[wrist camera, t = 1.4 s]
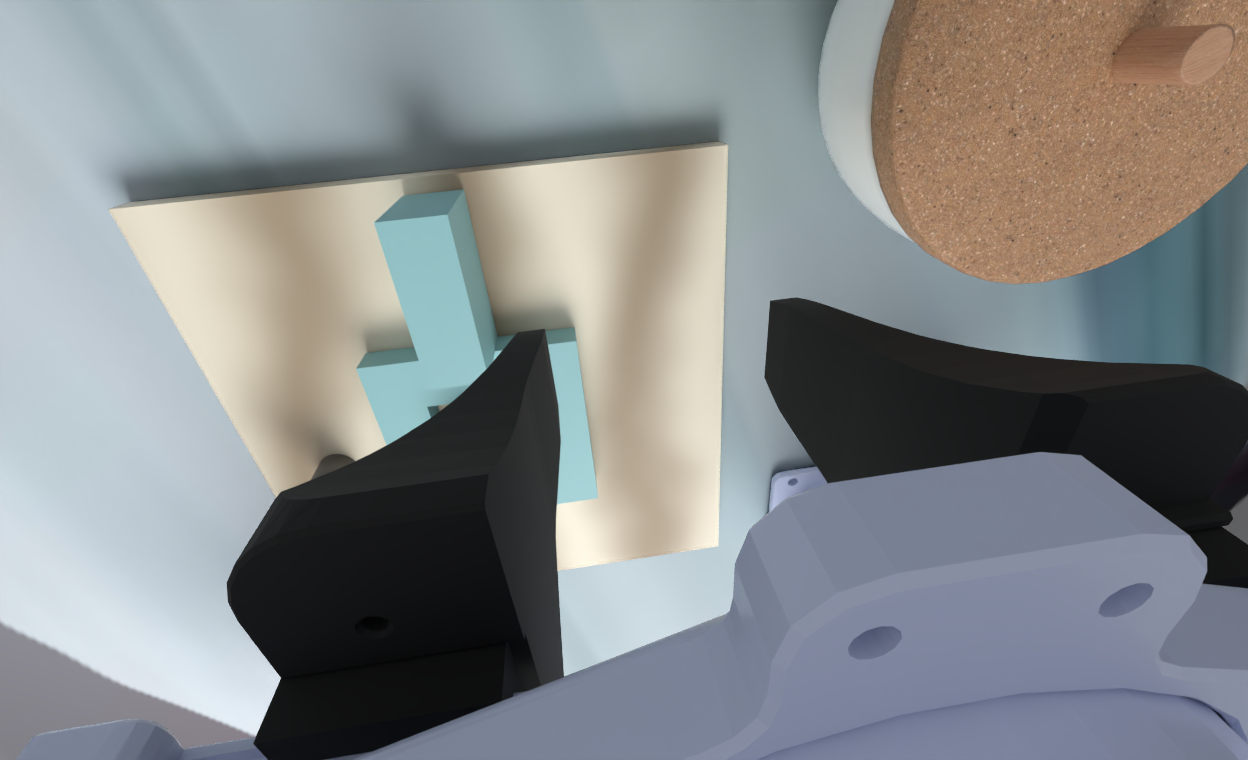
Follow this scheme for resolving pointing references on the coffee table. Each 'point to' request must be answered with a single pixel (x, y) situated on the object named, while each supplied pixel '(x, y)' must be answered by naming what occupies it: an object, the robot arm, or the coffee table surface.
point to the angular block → (458, 333)
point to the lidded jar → (1034, 123)
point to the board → (520, 301)
